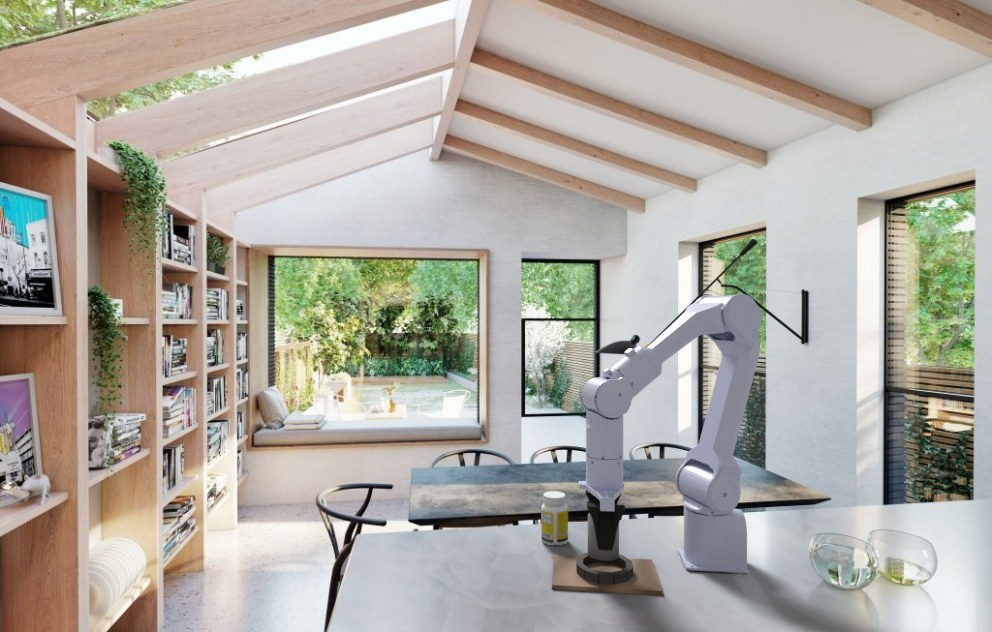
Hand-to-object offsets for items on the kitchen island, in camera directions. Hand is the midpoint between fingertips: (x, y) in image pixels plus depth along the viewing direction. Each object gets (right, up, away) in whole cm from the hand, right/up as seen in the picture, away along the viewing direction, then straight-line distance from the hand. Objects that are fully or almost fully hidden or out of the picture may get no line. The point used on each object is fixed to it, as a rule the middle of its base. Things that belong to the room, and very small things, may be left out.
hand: (604, 542), depth 92 cm
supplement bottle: (-6, -5, +14) cm, 16 cm away
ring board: (0, -5, 0) cm, 5 cm away
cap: (0, -2, 0) cm, 2 cm away
